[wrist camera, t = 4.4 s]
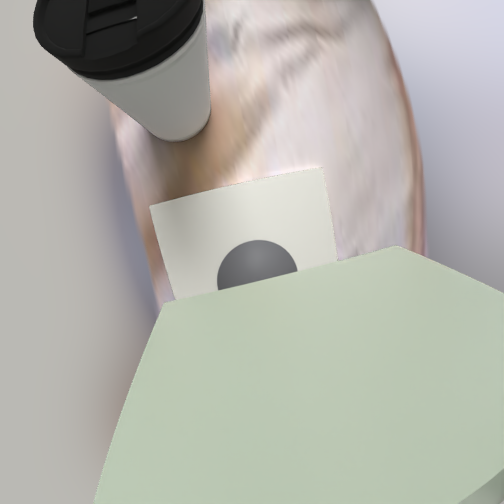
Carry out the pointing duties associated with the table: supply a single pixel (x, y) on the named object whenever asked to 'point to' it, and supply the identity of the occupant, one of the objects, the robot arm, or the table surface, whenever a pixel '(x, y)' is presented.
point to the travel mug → (136, 57)
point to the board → (245, 232)
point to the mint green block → (320, 392)
